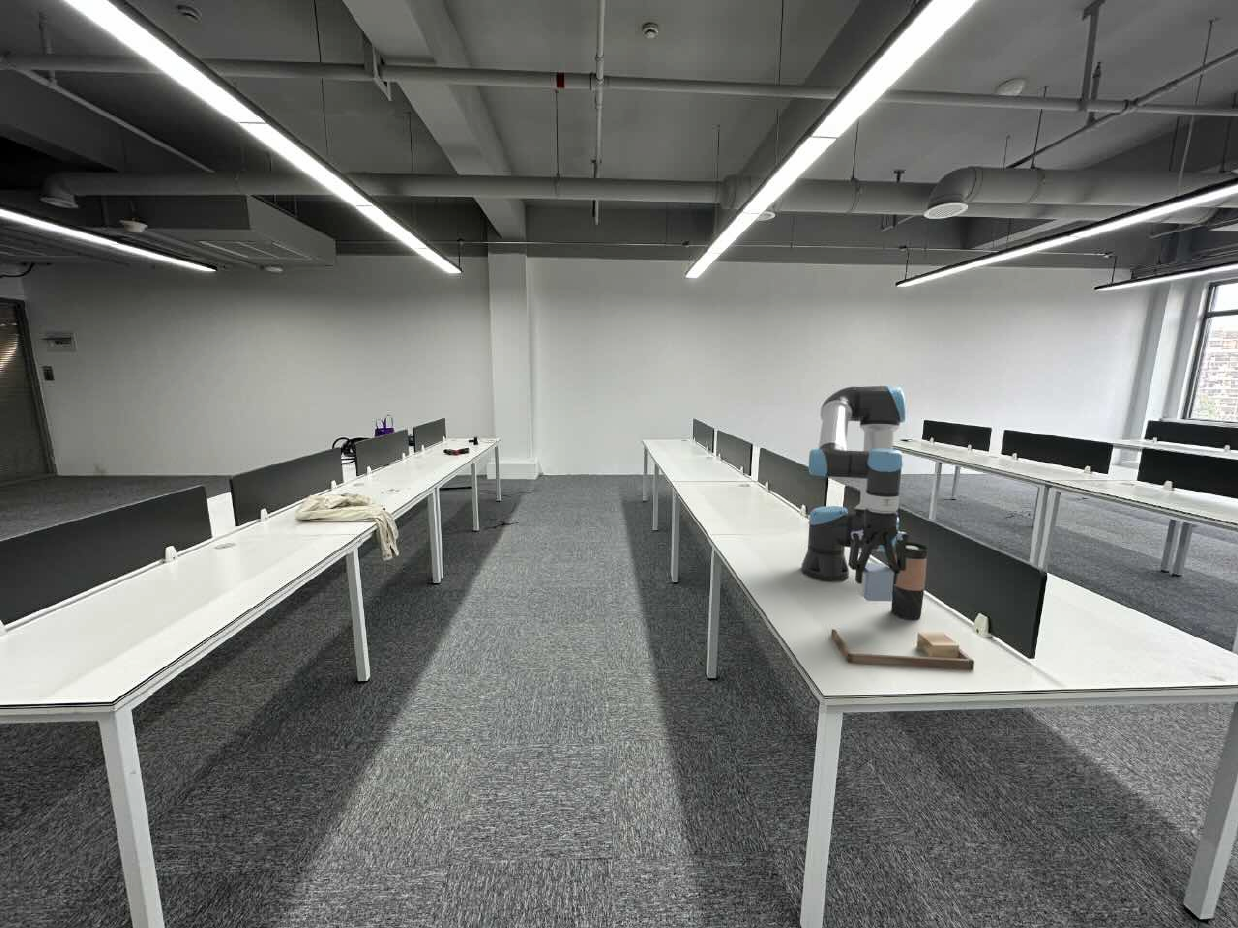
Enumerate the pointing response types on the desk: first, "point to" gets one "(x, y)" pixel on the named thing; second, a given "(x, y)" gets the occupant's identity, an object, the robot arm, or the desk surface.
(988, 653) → the desk surface
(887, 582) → the slate block
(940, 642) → the oak block
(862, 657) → the bay
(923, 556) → the travel mug
